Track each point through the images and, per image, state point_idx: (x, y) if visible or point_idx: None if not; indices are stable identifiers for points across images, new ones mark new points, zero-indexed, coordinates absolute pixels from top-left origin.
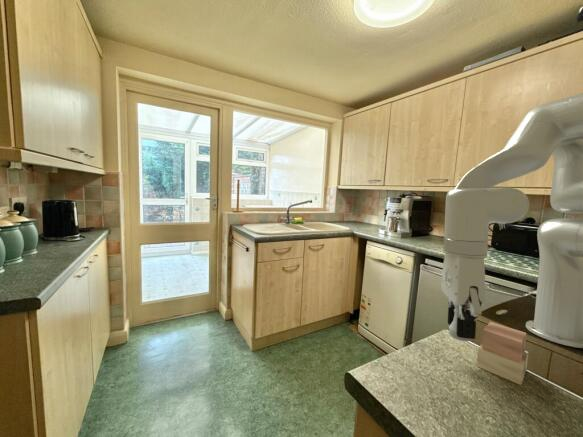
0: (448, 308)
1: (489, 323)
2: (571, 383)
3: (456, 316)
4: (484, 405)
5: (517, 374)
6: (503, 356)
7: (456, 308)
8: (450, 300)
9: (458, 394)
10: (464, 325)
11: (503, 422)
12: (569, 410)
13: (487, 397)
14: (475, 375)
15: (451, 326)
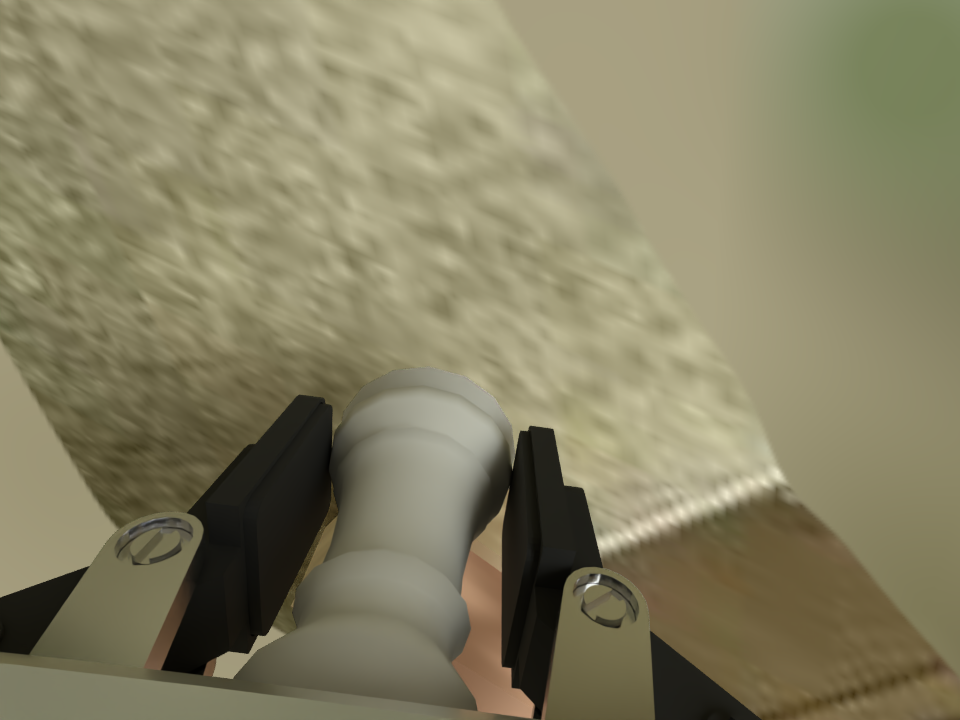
0: (560, 535)
1: (525, 708)
2: None
3: (368, 522)
4: (108, 299)
5: (320, 550)
6: None
7: (345, 607)
8: (557, 663)
9: (137, 208)
10: (202, 501)
11: (30, 322)
12: None
13: (177, 344)
14: (341, 379)
15: (415, 414)
